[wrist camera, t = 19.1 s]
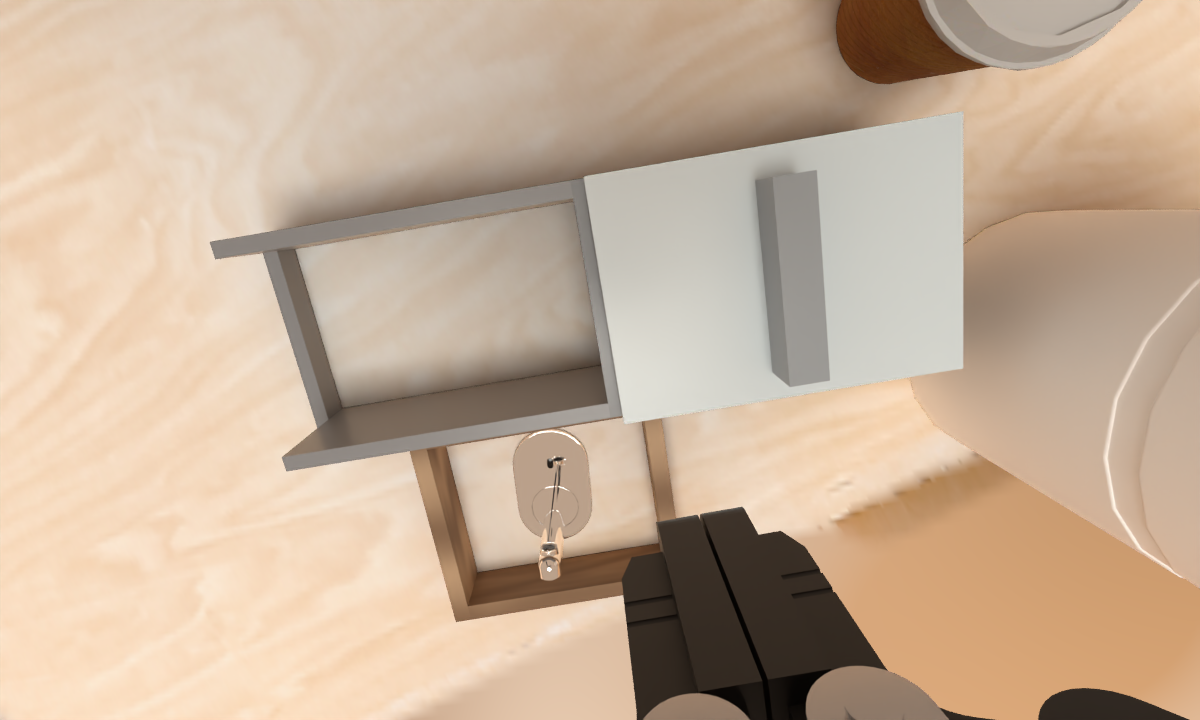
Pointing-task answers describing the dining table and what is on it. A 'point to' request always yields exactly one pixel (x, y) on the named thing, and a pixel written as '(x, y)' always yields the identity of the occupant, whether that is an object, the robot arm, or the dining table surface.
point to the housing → (441, 412)
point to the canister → (1087, 369)
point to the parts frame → (523, 583)
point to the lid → (783, 267)
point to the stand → (552, 492)
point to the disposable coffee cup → (968, 34)
